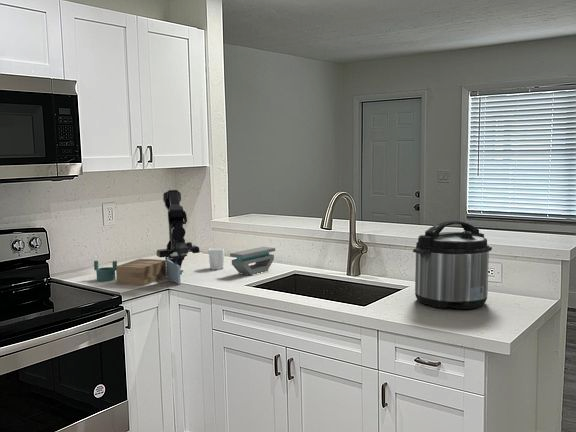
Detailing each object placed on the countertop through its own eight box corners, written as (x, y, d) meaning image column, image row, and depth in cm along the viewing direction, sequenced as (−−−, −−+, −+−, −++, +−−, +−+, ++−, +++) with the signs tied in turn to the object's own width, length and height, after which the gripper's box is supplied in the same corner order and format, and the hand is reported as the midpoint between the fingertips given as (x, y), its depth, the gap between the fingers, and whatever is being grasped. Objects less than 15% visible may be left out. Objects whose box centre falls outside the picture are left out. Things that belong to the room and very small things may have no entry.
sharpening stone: (242, 277, 273) (242, 254, 272) (230, 275, 278) (229, 253, 277) (275, 269, 293) (275, 247, 292) (263, 267, 298) (263, 246, 297)
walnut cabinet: (140, 275, 281) (139, 258, 280) (166, 276, 277) (165, 260, 276) (116, 283, 262) (116, 266, 261) (144, 285, 258) (143, 267, 257)
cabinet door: (166, 275, 277) (165, 259, 276) (169, 275, 278) (169, 258, 277) (178, 284, 259) (177, 266, 258) (182, 283, 260) (181, 265, 259)
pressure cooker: (483, 294, 238) (486, 217, 235) (498, 313, 210) (501, 225, 207) (408, 292, 242) (410, 216, 239) (413, 310, 214) (414, 224, 211)
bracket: (118, 280, 270) (117, 261, 269) (97, 282, 265) (97, 263, 265) (113, 277, 278) (112, 258, 277) (93, 279, 273) (92, 260, 272)
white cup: (222, 270, 292) (221, 250, 291) (207, 269, 293) (206, 250, 292) (226, 267, 300) (226, 247, 299) (211, 266, 301) (211, 247, 300)
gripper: (162, 240, 253) (164, 275, 255) (202, 235, 262) (204, 270, 264) (155, 237, 263) (157, 271, 265) (194, 233, 272) (196, 266, 274)
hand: (179, 269), depth 267 cm, fingers closed
